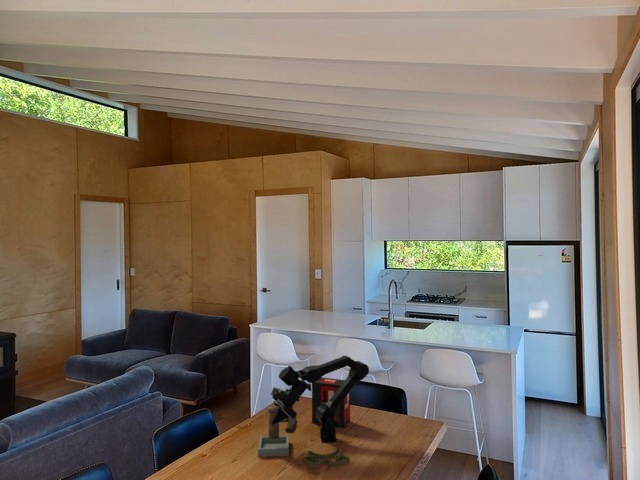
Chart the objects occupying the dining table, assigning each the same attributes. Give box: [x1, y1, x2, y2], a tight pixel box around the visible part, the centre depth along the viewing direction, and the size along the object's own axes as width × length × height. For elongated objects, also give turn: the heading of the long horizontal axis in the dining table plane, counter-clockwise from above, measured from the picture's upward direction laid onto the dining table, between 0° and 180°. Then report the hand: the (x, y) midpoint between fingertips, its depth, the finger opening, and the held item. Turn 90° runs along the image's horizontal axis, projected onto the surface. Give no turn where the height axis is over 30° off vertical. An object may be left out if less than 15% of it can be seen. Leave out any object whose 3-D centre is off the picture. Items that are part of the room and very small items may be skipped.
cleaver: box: [279, 408, 297, 433], centre depth 221 cm, size 29×10×2 cm, turn 6°
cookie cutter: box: [303, 447, 351, 468], centre depth 180 cm, size 18×12×2 cm, turn 100°
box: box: [257, 435, 290, 458], centre depth 189 cm, size 12×12×3 cm
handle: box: [267, 405, 280, 439], centre depth 189 cm, size 5×5×12 cm
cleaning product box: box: [311, 376, 351, 429], centre depth 218 cm, size 16×9×20 cm, turn 67°
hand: (270, 422), depth 189 cm, fingers closed on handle, 4 cm apart
